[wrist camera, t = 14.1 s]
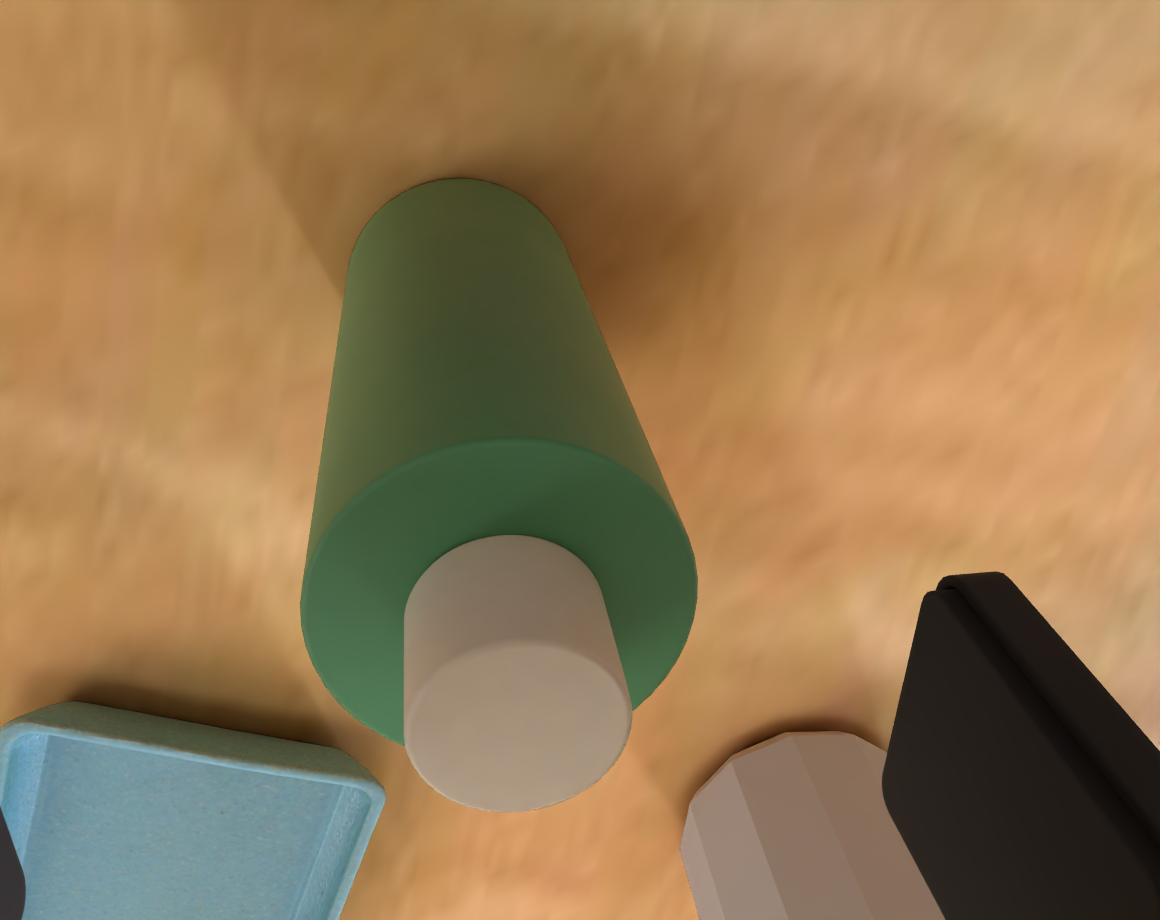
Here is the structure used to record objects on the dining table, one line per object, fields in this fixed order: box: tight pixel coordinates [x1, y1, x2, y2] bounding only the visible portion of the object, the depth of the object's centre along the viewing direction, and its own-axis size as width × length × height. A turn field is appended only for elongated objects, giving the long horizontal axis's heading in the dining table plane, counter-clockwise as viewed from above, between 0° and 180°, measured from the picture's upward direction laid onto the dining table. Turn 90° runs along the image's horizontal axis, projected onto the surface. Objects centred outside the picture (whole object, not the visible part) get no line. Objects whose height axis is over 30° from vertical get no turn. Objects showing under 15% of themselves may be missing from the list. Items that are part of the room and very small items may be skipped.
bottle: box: [300, 178, 698, 812], centre depth 17 cm, size 5×5×14 cm
